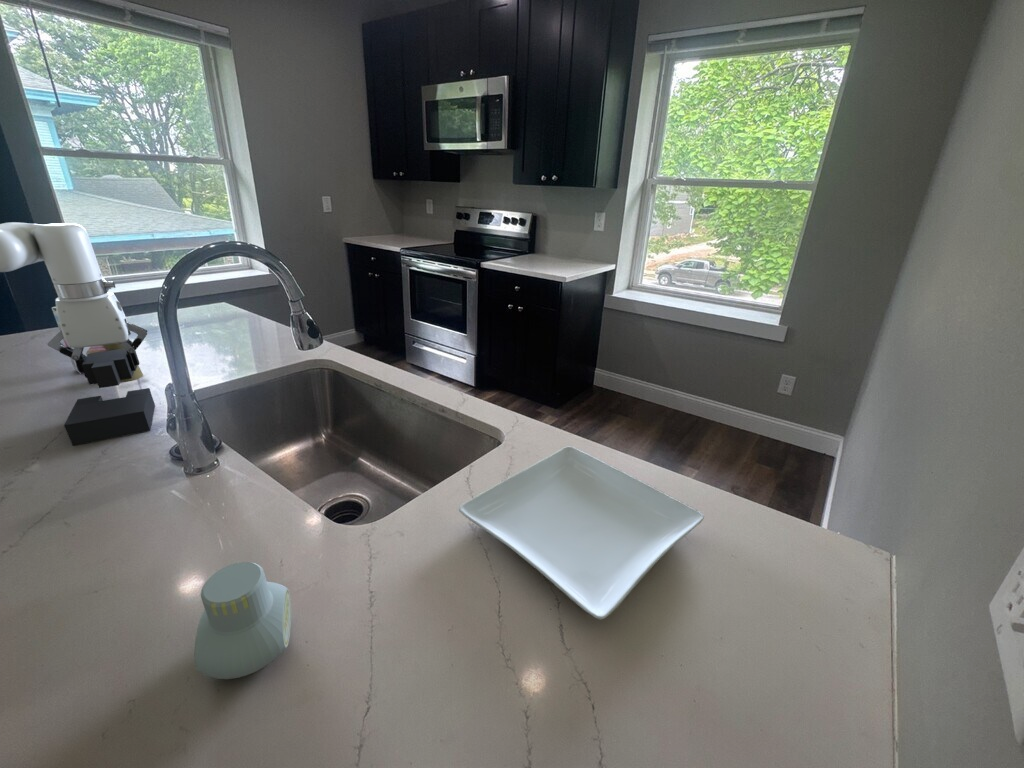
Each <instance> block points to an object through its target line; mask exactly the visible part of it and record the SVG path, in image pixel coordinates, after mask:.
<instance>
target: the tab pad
mask: <svg viewBox="0 0 1024 768" xmlns="http://www.w3.org/2000/svg"><path fill="white" fill-rule="evenodd" d="M126 353H127V351H126V350H125V349H120V350H112V351H104V352H96V353H89V354H88V355H87V357H86V359H85V360H84V362H83V364H82V367H83V369H84V372H85V374H86V377H87V378H86V377H85V378H86V380H87V382H88V385H92V386H93V385H97V386H98V388H99V389H102V388H109V387H116V386H119V385H120V383H121V382H120V380H125V379H131V378H132V376H133V373H134V371H132V370H131V368H130V365H129V362H128V359H127V356H126Z"/></svg>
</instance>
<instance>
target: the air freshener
mask: <svg viewBox="0 0 1024 768" xmlns="http://www.w3.org/2000/svg"><path fill="white" fill-rule="evenodd" d="M200 598H201V602H202V605H203V607H204V609H203V611H202V612H201V613H202V614H201V616H200V619H199V622H198V625H197V630H196V633H195V634H196V635H195V641H194V655H193V658H194V666H195V670H197V671H198V672H199V673H200V674H202V675H203V676H206V677H208V678H211V679H218V680H232V679H238V678H242V677H246V676H248V675H251V674H254V673H256V672H258V671H260V670H261V669H264V668H265V667H267V666H269V664H271V663H272V662H273V661H275V660H276V659H277V658H278V657H280V655H281V654H282V653H283V652H284V651H285V650H286V649H287V647H288V645H289V643H290V636H291V627H292V624H291V623H292V604H291V603H292V602H291V601H292V600H291V594H290V590H289V588H288V587H286V586H284V585H282V584H280V583H277V582H274V581H273V582H272V581H268V580H267V578H266V575H265V571H264V569H263V567H262V566H261V565H260V564H258V563H255V562H249V561H240V562H239V561H238V562H234V563H232V564H228V565H226V566H224V567H222V568H220V569H219V570H217V571H216V572H214V573H213V574H212V575H211V576H210V577H209V578H208V579H207V580H206V581H205V583H204V584H203V586H202V587H201V591H200Z"/></svg>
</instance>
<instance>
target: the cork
mask: <svg viewBox="0 0 1024 768" xmlns="http://www.w3.org/2000/svg"><path fill="white" fill-rule="evenodd" d="M102 346H103V347H104V348H105V349H107V351H112V350H120V349H124V348H123V347H122V346H121V345H120V344H119V343H116V344H108V345H102ZM143 376H144V374H143V371H142V369H141V367H140V365H137V368H136V371H134V373H133V376H132V378H131V379H125V380H120V383H126V382H131V381H136V380H138V379H140V378H142V377H143Z"/></svg>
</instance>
